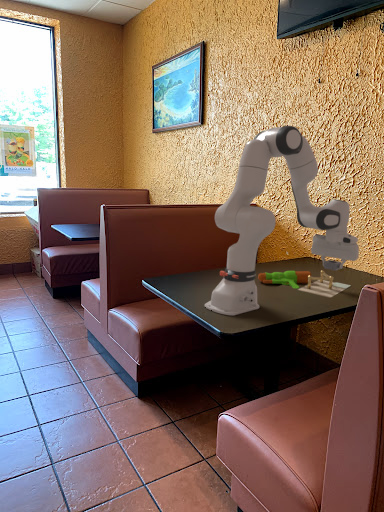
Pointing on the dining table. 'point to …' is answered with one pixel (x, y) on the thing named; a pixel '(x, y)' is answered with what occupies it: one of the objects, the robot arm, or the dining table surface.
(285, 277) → the toy
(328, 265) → the grey square box
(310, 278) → the rope post barrier
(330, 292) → the board
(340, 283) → the pad
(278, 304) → the dining table surface
